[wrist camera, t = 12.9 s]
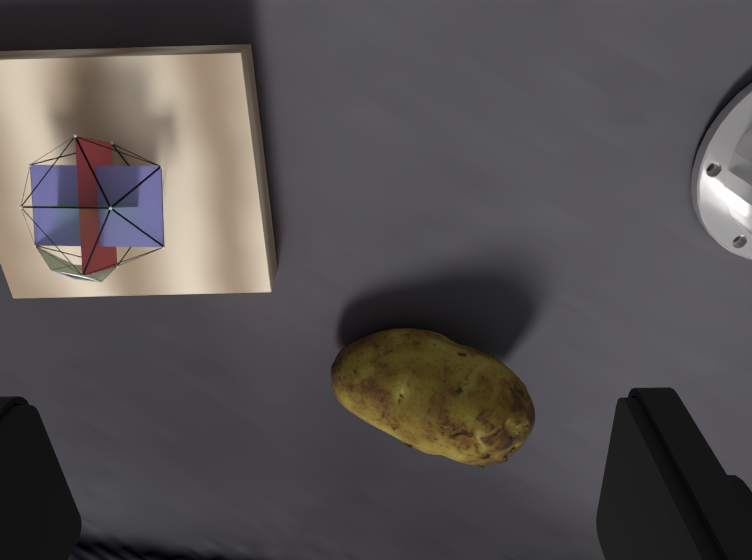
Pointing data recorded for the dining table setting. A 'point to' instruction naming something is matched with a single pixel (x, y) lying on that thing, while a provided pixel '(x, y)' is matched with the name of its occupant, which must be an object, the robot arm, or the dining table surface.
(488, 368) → the potato
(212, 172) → the birch platform
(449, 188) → the dining table surface
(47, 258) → the geometric puzzle
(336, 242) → the dining table surface
